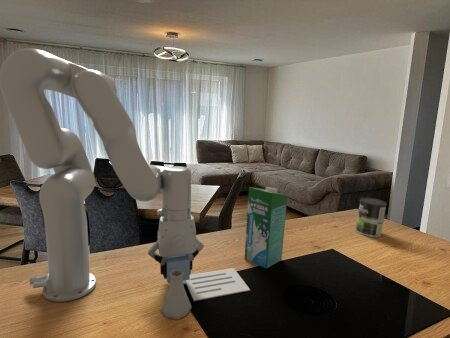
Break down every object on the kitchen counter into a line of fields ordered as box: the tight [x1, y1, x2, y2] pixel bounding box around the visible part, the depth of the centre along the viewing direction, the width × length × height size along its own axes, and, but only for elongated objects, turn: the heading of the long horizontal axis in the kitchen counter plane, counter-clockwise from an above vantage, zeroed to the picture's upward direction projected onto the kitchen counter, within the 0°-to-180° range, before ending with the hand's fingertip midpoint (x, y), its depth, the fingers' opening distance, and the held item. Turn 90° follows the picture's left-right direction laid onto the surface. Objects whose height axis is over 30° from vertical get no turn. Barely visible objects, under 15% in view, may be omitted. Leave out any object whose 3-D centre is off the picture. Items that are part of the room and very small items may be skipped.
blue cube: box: [165, 254, 191, 284], centre depth 83 cm, size 6×6×6 cm
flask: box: [159, 269, 193, 320], centre depth 72 cm, size 7×7×10 cm
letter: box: [184, 267, 251, 302], centre depth 85 cm, size 16×12×1 cm
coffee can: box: [355, 197, 387, 238], centre depth 127 cm, size 10×10×14 cm
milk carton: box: [244, 186, 288, 270], centre depth 98 cm, size 9×9×25 cm
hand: (176, 273), depth 83 cm, fingers closed on blue cube, 6 cm apart
